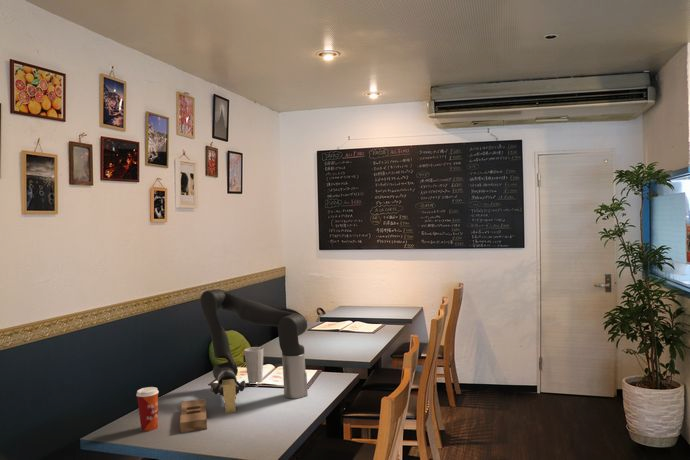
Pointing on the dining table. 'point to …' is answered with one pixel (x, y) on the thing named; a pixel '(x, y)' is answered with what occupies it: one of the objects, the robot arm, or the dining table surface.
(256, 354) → the cup
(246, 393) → the dining table surface
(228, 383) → the tan boxy piece
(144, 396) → the paper cup
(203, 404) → the brown flat wooden block
